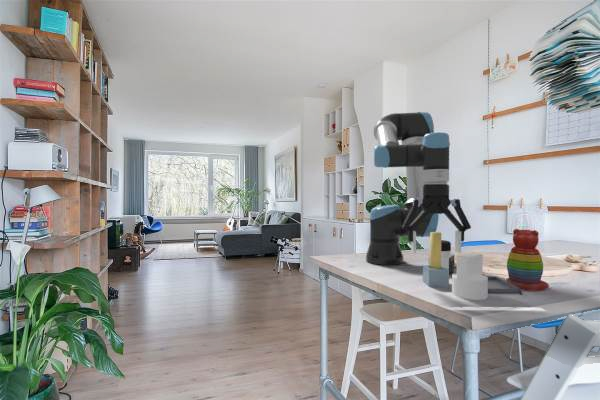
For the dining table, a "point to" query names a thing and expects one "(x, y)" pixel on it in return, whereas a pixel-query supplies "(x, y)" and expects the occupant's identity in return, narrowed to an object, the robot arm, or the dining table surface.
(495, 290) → the tray
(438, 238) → the dowel
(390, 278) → the dining table surface
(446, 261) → the medicine bottle
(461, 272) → the base with upright slab
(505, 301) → the dining table surface
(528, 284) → the stacking bear
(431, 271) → the pen cup
